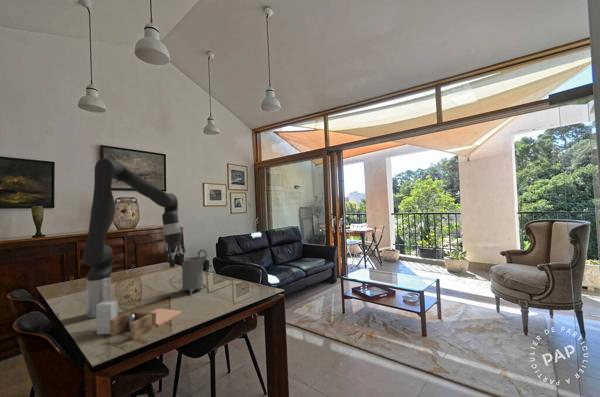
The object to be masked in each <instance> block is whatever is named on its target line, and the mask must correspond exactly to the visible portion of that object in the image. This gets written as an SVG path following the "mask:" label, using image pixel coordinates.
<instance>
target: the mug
mask: <svg viewBox="0 0 600 397" xmlns="http://www.w3.org/2000/svg"><path fill="white" fill-rule="evenodd" d="M201 252H204V254H205V255H203V256H201V255H200V253H201ZM183 258H184V262H183V263H181V269H182V270H181V271H182V272H181V274H182V275H181V276H182V277H181V278H182V286H181V289H180V290H181V291H189V295H190V296H191V295H193V292H194V290H198V289H201V288H207V286H206V283H204V272H203V271H204V270H203V268H204V266H203V265H204V263H205V261H206V260H207V258H208V252H207V251H206V249H200V250H199V251H198V253H197V256H196V255H195V256H188V257H183Z"/></svg>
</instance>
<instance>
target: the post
mask: <svg viewBox="0 0 600 397" xmlns="http://www.w3.org/2000/svg"><path fill="white" fill-rule="evenodd" d="M134 321H135V314H129V315H128V329H127V331H130V332H131V322H134Z"/></svg>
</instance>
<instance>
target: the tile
mask: <svg viewBox="0 0 600 397" xmlns="http://www.w3.org/2000/svg"><path fill="white" fill-rule="evenodd" d="M150 312H151V313H156V327H159V326H162V325H163V324H165V323H167V322H169V321H170V320H172V318H173V319H175V318H177V316H180V315H182V314H183V312H184V311H183V310H176V309H175V310H174V309H167V308H156V309H154V310H151V311H150Z"/></svg>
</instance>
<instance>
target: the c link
mask: <svg viewBox="0 0 600 397" xmlns="http://www.w3.org/2000/svg"><path fill="white" fill-rule="evenodd" d="M129 314H135V321H134V322H131V331H130V339H132V340H136V339H138V338H139V337H141V336H143V335H145V334H147V333H149V332H151V331H152V330H154V329H156V328H157V326H156V313H151V311H149V312H148V311H142V310H133V309H131V310H130V311H127V312H125V313H122V314H121V315H118V317H116V318H113V319H111V320H110V334H109V336H117V335H119V334H120V333H122V332H125V331H126V330H128V315H129Z"/></svg>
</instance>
